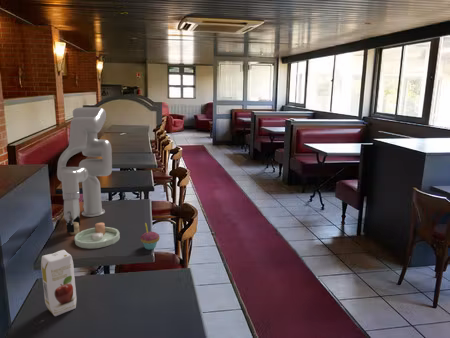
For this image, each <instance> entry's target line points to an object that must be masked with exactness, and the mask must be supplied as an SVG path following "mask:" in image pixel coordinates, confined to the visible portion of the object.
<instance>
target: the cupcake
mask: <svg viewBox="0 0 450 338" xmlns="http://www.w3.org/2000/svg"><path fill="white" fill-rule="evenodd" d="M144 226H145V230H146V232H144V233H142V234H141V235H140V237H139V239H140V242H141V243H142V244H143V246H144V249H146V250H154V249H156V247H157V243H158V242H159V241H160V235H159V234H158V233H157V232H155V231H149V230H148V225H147V223H146V222H144Z"/></svg>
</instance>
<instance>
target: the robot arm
mask: <svg viewBox="0 0 450 338" xmlns="http://www.w3.org/2000/svg"><path fill="white" fill-rule="evenodd" d="M72 118H73V119H71V121H70V127H69V139H68V141H69V143H68V147H67V148H66V149H65V150H63V152H62V153H61V154H60V156H59V158H58V161H57V168H56V169H57V170H56V176H57V179H58V180H59V181H60V182H61V191H62V200H63V217H64V220H65V225H66V232H67V233H69V234H70V233H73V232H74V224H73V222H78V223H79V227H80V226H81V216H80V213H81V215H82V216H83V217H87V218H89V217H90V218H92V217H93V218H94V217H98V216H103V215H104V214H105V213H106V211H105V210H106V209H104V208H103V207H102V192H101V191H102V190H101V182H100V180H99V179H98V177H108V176H110V175H111V174H112V171H113V157H112V155H113V154H112V153H113V150H112V144H111V142H110V141H109V140H108V139H104V138H102V139H98V133H100V131H101V130H102V128H103V127H104V125H105V122H106V119H107V112H106V110H105V109H104V108H102V107H87V106H86V107H85V106H84V107H76V108H74V109H73V111H72ZM79 153H82V155H83V157H84V156H85V157H89V158H86V159H81V161H80V162H79V163H78V166H67V162H68V161H69V159H70V158H71V157H73V156H74V155H76V154H79ZM90 157H92V158H90ZM93 157H101V158H93ZM79 183H81V184H82V186H81V187H82V195H83V196H82V197H83V198H82V200H83V204H82V208H83V210H82V211H81V209H80V208H81V207H80V201H79V199H80V198H81V197H80V184H79Z"/></svg>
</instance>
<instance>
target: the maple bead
mask: <svg viewBox="0 0 450 338" xmlns="http://www.w3.org/2000/svg"><path fill="white" fill-rule="evenodd" d="M73 224H74V232H73V233H69V234H70V235H71V236H74V235H75V236H76V234H77V233H79V232H80V226H79V223H78V222H73Z"/></svg>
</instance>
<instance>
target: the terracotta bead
mask: <svg viewBox="0 0 450 338" xmlns="http://www.w3.org/2000/svg"><path fill="white" fill-rule="evenodd" d="M105 227H106V226H105V222H97V223H95V224H94V228H95V230H96V233H103V235H104V234H105Z"/></svg>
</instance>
